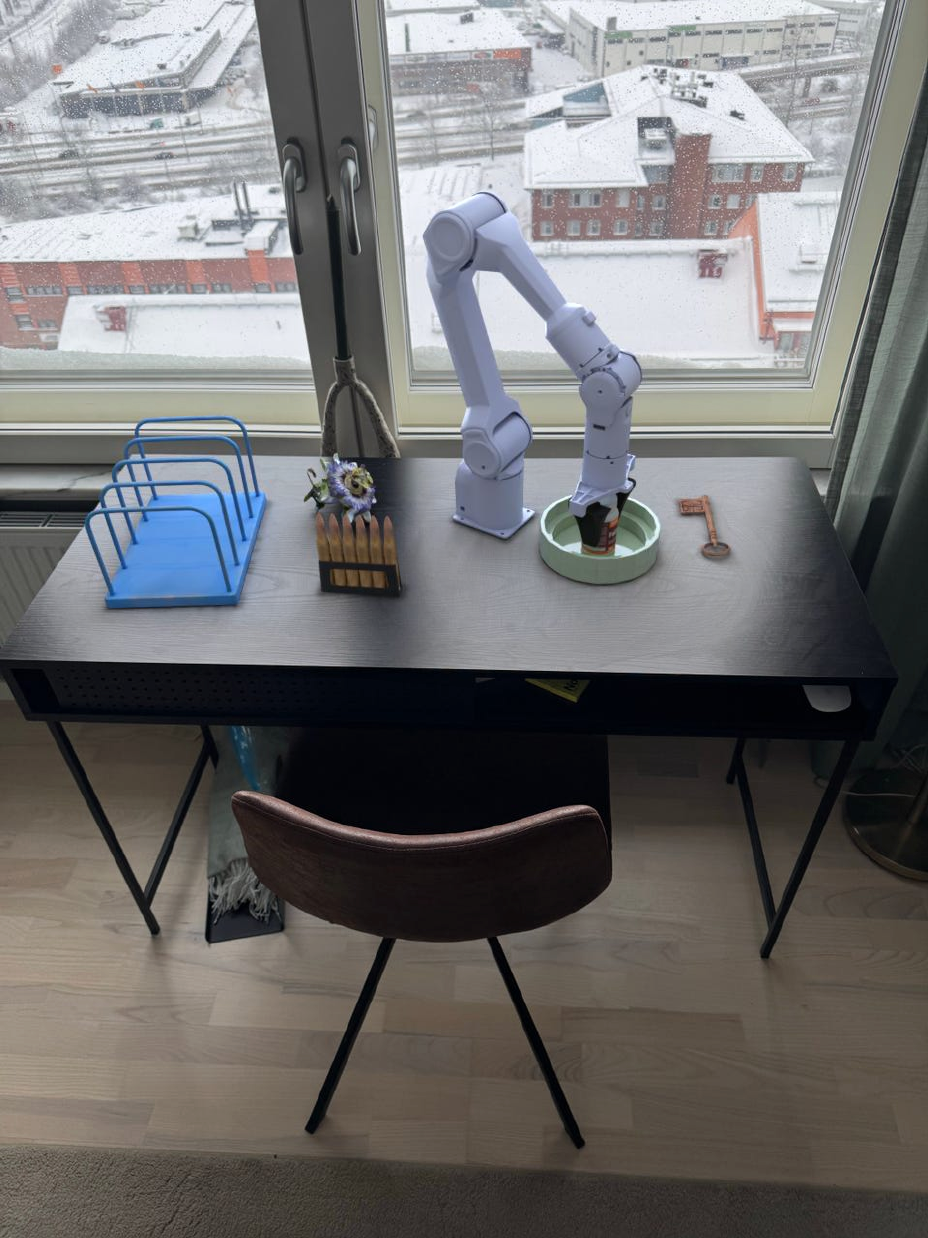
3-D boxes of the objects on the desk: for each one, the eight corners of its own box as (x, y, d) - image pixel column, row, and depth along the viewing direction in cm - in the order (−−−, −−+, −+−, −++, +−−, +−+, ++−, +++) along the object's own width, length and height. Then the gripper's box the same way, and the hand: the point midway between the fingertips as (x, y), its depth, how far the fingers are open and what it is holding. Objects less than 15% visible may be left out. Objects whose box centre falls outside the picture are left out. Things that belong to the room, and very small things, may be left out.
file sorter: (154, 505, 142) (128, 414, 132) (267, 502, 142) (250, 410, 132) (106, 609, 123) (72, 511, 113) (238, 606, 123) (215, 508, 113)
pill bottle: (614, 559, 128) (618, 508, 122) (579, 556, 128) (582, 504, 123) (616, 540, 131) (621, 488, 126) (582, 536, 132) (586, 485, 127)
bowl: (517, 560, 129) (517, 533, 126) (576, 506, 139) (577, 480, 136) (622, 600, 121) (625, 573, 118) (676, 540, 131) (680, 513, 128)
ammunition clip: (321, 592, 124) (309, 516, 117) (324, 583, 126) (312, 508, 118) (399, 596, 123) (393, 520, 116) (402, 587, 125) (395, 512, 117)
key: (678, 500, 140) (688, 559, 128) (678, 495, 139) (688, 553, 127) (718, 498, 139) (731, 557, 127) (718, 493, 138) (732, 552, 127)
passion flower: (368, 550, 141) (366, 523, 129) (297, 537, 140) (289, 508, 129) (382, 482, 144) (382, 449, 132) (313, 469, 143) (306, 435, 132)
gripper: (606, 481, 113) (599, 571, 122) (659, 432, 122) (649, 519, 131) (556, 465, 117) (552, 553, 125) (611, 418, 125) (604, 504, 134)
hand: (599, 535), depth 128 cm, fingers closed on pill bottle, 5 cm apart
